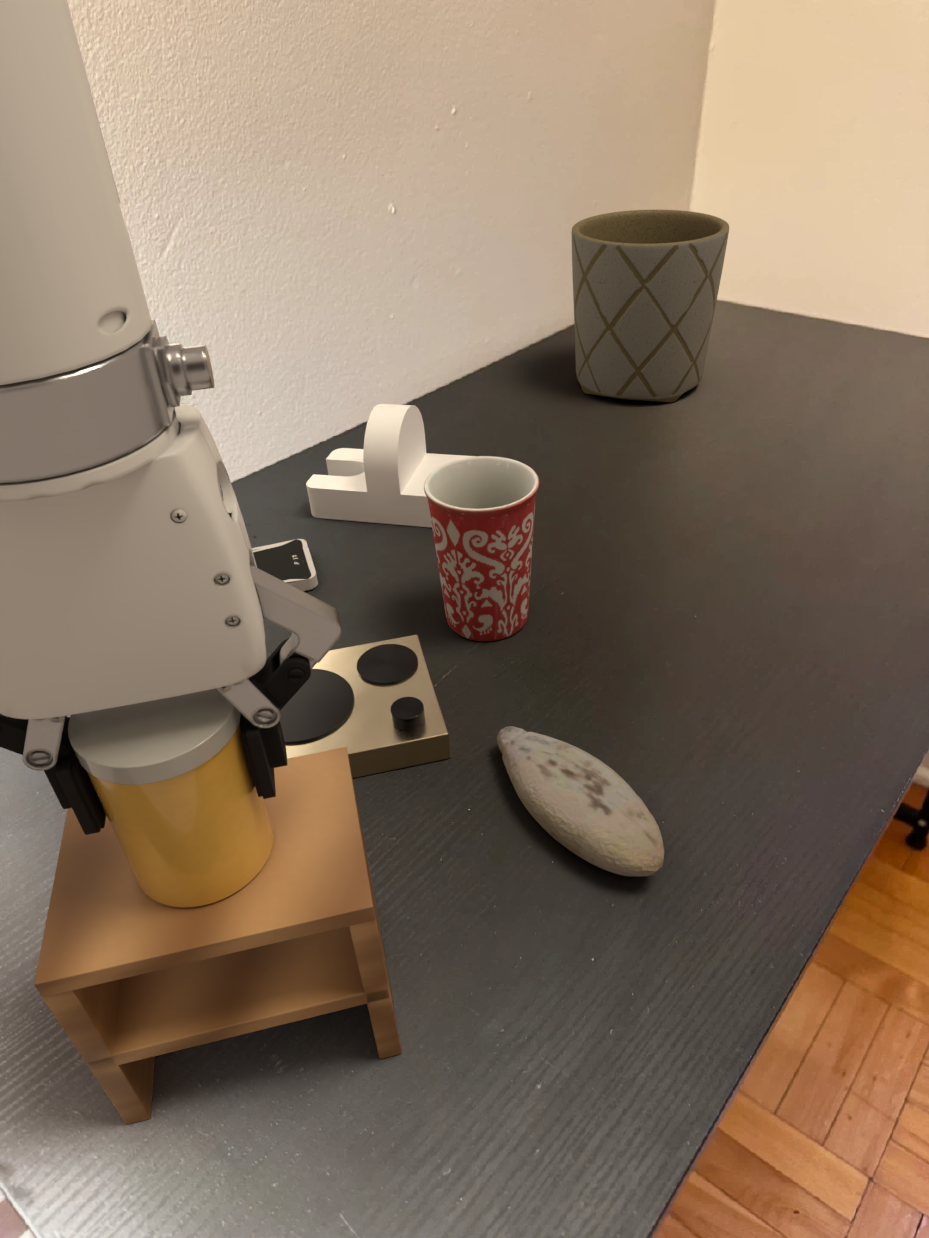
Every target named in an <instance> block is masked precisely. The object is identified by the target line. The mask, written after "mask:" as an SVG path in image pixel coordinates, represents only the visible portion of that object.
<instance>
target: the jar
mask: <svg viewBox="0 0 929 1238" xmlns="http://www.w3.org/2000/svg"><path fill="white" fill-rule="evenodd" d="M69 716H70V720H69V724H68V737H69V740H70V743H71V746H72V748H73V750H74V752H75V754H76V757H77V759H78V761H79V762H80V764H81V765H82V767H83V768H84V769H85V770H86V772H87V774H88V776H89V778H90V780H91V783H92V785H93V787H94V789H95V791H96V794H97V796H98V798H99V800H100V802H101V805H102V807H103V809H104V811H105V813H106V816H107V818H108V820H109V822H110V824H111V827H112V829H113V831H114V833H115V835H116V838H117V840H118V842H119V844H120V846H121V849H122V851H123V853H124V855H125V857H126V860H127V862H128V864H129V866H130V868H131V871H132V873H133V875H134V877H135V879H136V882H137V884H138V885H139V887H140V889H141V890H142V891H143V892H144V893H145V894H146V895H147V896H149V897H150V898H151V899H153V900H155V901H157V902H159V903H161V904H164V905H167V906H173V907H182V908H187V907H198V906H204V905H208V904H211V903H215V902H217V901H220V900H222V899H224V898H227V897H229V896H231V895H232V894H234V893H236V892H237V891H239V890H240V889H242V888H243V887H244V886H246V885H247V884H248V883H249V882H250V881H251V880H252V879H253V878H255V876H256V875H257V874H258V873H259V872H260V871H261V869H262V868H263V866H264V865H265V863H266V861H267V859H268V857H269V855H270V853H271V850H272V846H273V841H274V830H273V825H272V821H271V818H270V814H269V810H268V807H267V803H266V800H265V799H263V796H261V797H258V794H257V790H256V787H255V783H254V780H253V776H252V773H251V769H250V766H249V762H248V759H247V756H246V752H245V749H244V745H243V741H242V735H241V713H240V712H239V711H238V710H237V709H236V708H235V707H234V706H233V705H232V704H231V703H230V702H229V701H228V700H227V699H226V698H225V697H224V696H223V695H222V694H221V693H220V692H218V691H217V690H216V689H210V690H205V691H200V692H195V693H190V694H185V695H180V696H175V697H169V698H164V699H158V700H153V701H147V702H142V703H137V704H131V705H125V706H120V707H114V708H108V709H103V710H97V711H91V712H85V713H79V714H73V715H69Z"/></svg>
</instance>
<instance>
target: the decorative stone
mask: <svg viewBox="0 0 929 1238" xmlns="http://www.w3.org/2000/svg"><path fill="white" fill-rule="evenodd" d="M496 743H497V746H498V749H499V751H500V753H501V754H502V757H501V758H502V762H503V764H504V767H505V770H506V773H507V775H508V776H509V779H510V782H511V784H512V786H513V788H514V791H515V793H516V795H517V796H518V798H519V800H520V802H521V803H522V805H523V806H524V808H525V810H526V811H527V812H528V813H529V815H530V816H531V817H532V818H533V819H534V820H535V821H536V823H538V825H540V827H541V828H542V829H543V830H544V831H546V832H547V834H549V836H551V838H553V839H554V840H555V841H556V842H558V843H559V844H560V845H562V846H563V847H565V848H566V849H567V850H568V851H570V852H571V853H573V854H574V855H576V856H577V857H579V858H581V859H583V860H584V861H585V862H587V863H589V864H591V865H593V866H595V867H597V868H600V869H601V870H604V871H607V872H609V873H612V874H615V875H619V876H624V877H649V876H652V875H654V874H656V873H657V872H659V870H660V871H661V869H662V867H663V865H664V859H665V847H664V842H663V836H662V833H661V830H660V827H659V825H658V823H657V821H656V819H655V817H654V815H653V814H652V813H651V812H650V810H649V809H648V807H647V805H646V804H645V802H644V801H643V800H642V798H640V796H639V795H638V794H636V792H635V790H634V789H633V787H631V785H630V784H628V782H626V781H625V780H624V778H622V776H620V775H619V774H618V773H617V772H616V771H615V770H614V769H613V768H611V767H610V766H609V765H608V764H606V763H604V761H602V760H601V759H599V758H598V757H595V756H594V755H593V754H591V753H588V752H587V751H586V750H583V749H581V748H580V747H577V746H575V745H572V744H570V743H568V742H566V741H563V740H560V739H557V738H555V737H551V736H549V735H545V734H542V733H537V732H535V731H527V730H525V729H523V728H521V727H517V726H513V725H511V726H510V725H508V726H505V727H503V728H501V729H500V730H499V731H498V733H497V735H496Z"/></svg>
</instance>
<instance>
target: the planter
mask: <svg viewBox="0 0 929 1238" xmlns="http://www.w3.org/2000/svg"><path fill="white" fill-rule="evenodd" d="M729 233H730V224H729V223H728V222H727V221H726V220H725V219H723V218H721V217H717V216H715V215H712V214H708V213H703V212H696V211H690V210H678V209H634V210H632V209H631V210H622V211H614V212H606V213H601V214H597V215H593V216H589V217H587V218H584V219H582V220H579V221H578V222H575V223H574V225H572V227H571V268H572V269H571V271H572V272H571V274H572V296H573V297H572V299H573V321H574V351H575V353H574V354H575V355H574V356H575V375H576V379H577V381H578V383H579V385H580V388H581V390H582V392H583V393H584V394H586V395H593V396H599V397H606V398H613V399H620V400H626V401H627V400H628V401H643V402H644V401H645V402H658V403H668V404H669V403H670V404H671V403H675V402H676V401H677V400H679V398H680V397H681V396H682V395H683V394H684V393H686V392H688V391H690V390H692V389H694V388H695V387H697V386H698V385H699V384H700V383H701V381H702V379H703V375H704V372H705V371H704V370H705V366H706V359H707V355H708V354H707V353H708V350H709V343H710V338H711V332H712V326H713V322H714V316H715V311H716V306H717V302H718V301H717V300H718V295H719V290H720V286H721V285H720V284H721V279H722V274H723V269H724V263H725V258H726V252H727V245H728V239H729Z"/></svg>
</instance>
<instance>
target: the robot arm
mask: <svg viewBox="0 0 929 1238" xmlns="http://www.w3.org/2000/svg"><path fill="white" fill-rule="evenodd" d="M114 177H115V176H114V173H113V170H112V167H111V162H110V158H109V155H108V151H107V147H106V144H105V139H104V136H103V132H102V129H101V124H100V121H99V117H98V113H97V109H96V105H95V102H94V98H93V95H92V90H91V87H90V83H89V79H88V75H87V71H86V67H85V64H84V60H83V56H82V52H81V49H80V44H79V40H78V38H77V34H76V30H75V26H74V23H73V19H72V15H71V11H70V8H69V3H68V0H0V748H2V749H5V750H6V751H10V752H13V753H15V754H18V755H22V763H23V764H24V765H25V766H26V768H28V769H30V770H33V771H38V772H39V771H43V772H44V773H45V776H46V778H47V780H48V782H49V784H50V786H51V788H52V790H53V792H54V794H55V796H56V798H57V800H58V802H59V805H60V806H61V808H62V809H63V810H68V808H72V809H73V811H74V813H75V815H76V817H77V819H78V821H79V823H80V826H81V828H82V830H83V832H84V834H85V835H89V834H94V833H99V832H100V830H101V829H102V828H104V827H105V820H106V813H105V811H104V809H103V807H102V805H101V802H100V800H99V798H98V796H97V794H96V791H95V789H94V787H93V785H92V783H91V780H90V778H89V776H88V774H87V772H86V770H85V769H84V768H83V767H82V765H81V764H80V762H79V761H78V759H77V757H76V754H75V752H74V750H73V748H72V746H71V743H70V740H69V737H68V724H69V720H70V717H69V716H71V715H73V714H79V713H85V712H91V711H97V710H103V709H108V708H114V707H120V706H125V705H131V704H137V703H142V702H147V701H153V700H158V699H164V698H169V697H175V696H180V695H185V694H190V693H195V692H200V691H205V690H210V689H216V690H217V691H218V692H220V693H221V694H222V695H223V696H224V697H225V698H226V699H227V700H228V701H229V702H230V703H231V704H232V705H233V706H234V707H235V708H236V709H237V710H238V711H239V712H240V713H241V735H242V741H243V745H244V749H245V752H246V756H247V759H248V762H249V766H250V769H251V773H252V776H253V780H254V783H255V787H256V790H257V794H258V797H261V796H263V799H267V798H272V797H276V790H275V775H274V768H277V767H282V766H287V765H288V763H287V752H286V745H285V740H284V735H283V731H282V727H281V723H280V717H281V715H280V710H281V709H282V708H283V707H284V706H285V705H286V704H287V703H288V701H289V700H290V699H291V698H292V697H293V696H294V695H295V694H296V693H297V691H298V690H299V689H300V688H301V687H302V686H303V685H304V684H305V683H306V682H307V680H308V679H309V678H310V676H311V669H312V668H313V667H314V666H315V665H316V663H319V662H320V661H321V660H322V659H323V657H324V656H325V655H326V654H327V653H328V651H329V650H332V649H333V647H334V646H335V644H336V643H337V642H338V641H339V639H340V638H341V636H342V634H343V631H342V624H341V618H340V614H339V611H338V609H337V608H335V607H334V606H333V605H331V604H329V603H327V602H325V601H323V600H321V599H319V598H317V597H316V596H313V595H311V594H309V593H308V592H306V591H301V590H299V589H298V588H296V587H294V586H292V585H290V584H288V583H286V582H284V581H282V580H280V579H278V578H276V577H274V576H272V575H270V574H268V573H266V572H264V571H262V570H260V569H258V568H257V565H256V562H255V558H254V554H253V551H252V548H253V547H252V544H251V541H250V538H249V534H248V531H247V527H246V524H245V521H244V517H243V513H242V511H241V507H240V504H239V502H238V499H237V496H236V492H235V490H234V488H233V485H232V481H231V479H230V476H229V473H228V470H227V468H226V466H225V463H224V460H223V458H222V456H221V454H220V451H219V449H218V446H217V444H216V442H215V439H214V437H213V435H212V433H211V431H210V429H209V427H208V425H207V423H206V421H205V419H204V417H203V415H202V413H201V411H200V410H199V409H198V408H197V407H195V406H193V405H191V404H189V403H185V402H181V399H182V398H181V397H187V396H192V395H193V391H200V390H207V389H208V390H210V389H214V388H215V379H214V372H213V368H212V362H211V357H210V353H209V349H208V347H207V345H206V344H201V345H193V346H192V345H191V346H184V347H183V344H182V343H181V342H180V343H179V342H178V343H171V344H170V343H169V339H168V337H167V335H160V333H159V329H158V325H157V321H156V319H152V317H151V314H150V310H149V306H148V302H147V300H146V299H147V298H146V295H145V290H144V287H143V283H142V279H141V275H140V271H139V267H138V264H137V260H136V258H135V253H134V249H133V245H132V241H131V237H130V234H129V231H128V227H127V223H126V219H125V215H124V211H123V208H122V204H121V200H120V197H119V192H118V189H117V185H116V181H115V178H114ZM264 620H265V621H268V622H270V623H271V624H274V625H276V626H278V627H279V628H281V629H284V630H286V631H289V632H290V634H291V635H290V637H288V638H285V639H284V640H283V641H281V642H280V644H279V645H277V647H276V648H275V649H274V650H273V652H271V653H270V655H269V656H268V658H267V654H268V653H267V646H266V645H267V644H266V638H267V637H266V631H265V622H264Z"/></svg>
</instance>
